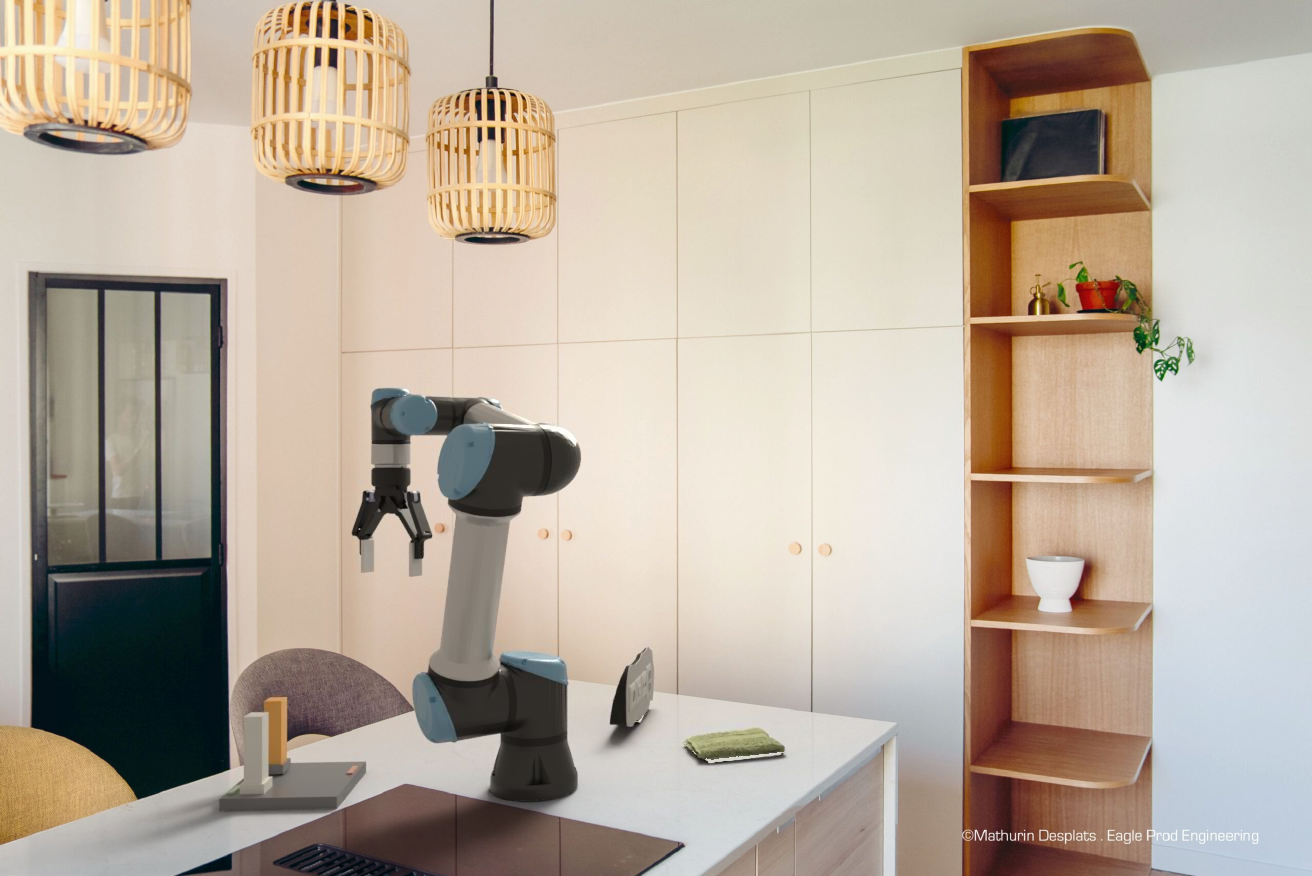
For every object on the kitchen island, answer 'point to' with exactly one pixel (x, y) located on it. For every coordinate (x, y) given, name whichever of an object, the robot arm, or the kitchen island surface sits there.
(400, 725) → the kitchen island surface
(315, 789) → the grey base with post
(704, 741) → the washcloth
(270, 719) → the breaker handle
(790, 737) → the kitchen island surface
